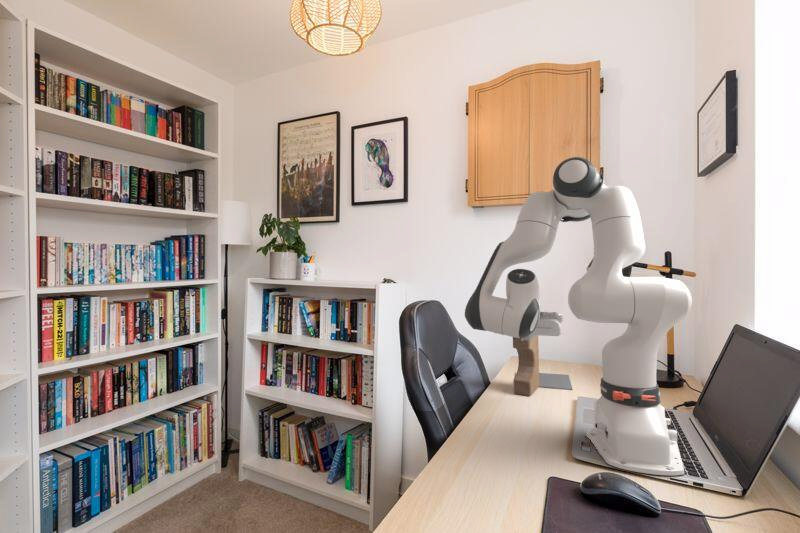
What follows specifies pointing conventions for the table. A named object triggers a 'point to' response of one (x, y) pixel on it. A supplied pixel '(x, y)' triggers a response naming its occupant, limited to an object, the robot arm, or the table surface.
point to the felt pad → (554, 381)
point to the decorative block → (527, 366)
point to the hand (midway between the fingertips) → (526, 339)
